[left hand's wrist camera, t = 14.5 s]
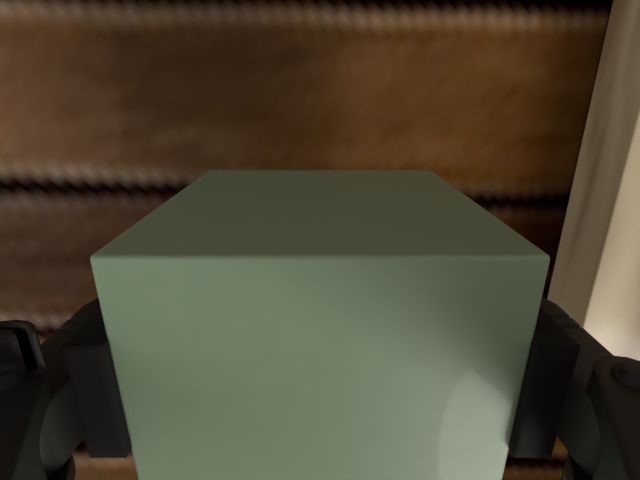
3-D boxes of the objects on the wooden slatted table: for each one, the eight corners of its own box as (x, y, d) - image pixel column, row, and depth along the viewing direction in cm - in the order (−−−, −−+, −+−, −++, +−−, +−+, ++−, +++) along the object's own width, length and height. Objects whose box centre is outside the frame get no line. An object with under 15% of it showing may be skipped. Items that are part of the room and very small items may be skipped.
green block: (223, 315, 16) (141, 503, 9) (208, 169, 14) (86, 256, 7) (417, 315, 16) (498, 503, 9) (431, 169, 14) (553, 255, 7)
